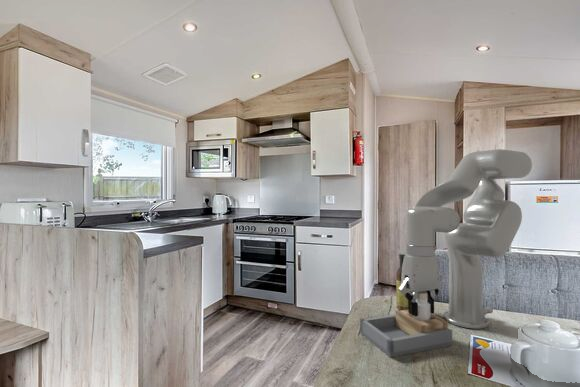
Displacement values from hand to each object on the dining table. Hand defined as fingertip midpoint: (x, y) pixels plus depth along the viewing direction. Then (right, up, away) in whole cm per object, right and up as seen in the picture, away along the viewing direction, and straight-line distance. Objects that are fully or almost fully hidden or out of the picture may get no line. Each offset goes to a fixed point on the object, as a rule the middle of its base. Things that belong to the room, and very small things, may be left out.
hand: (421, 312), depth 88 cm
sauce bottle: (+3, -7, +20) cm, 21 cm away
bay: (-6, -7, -2) cm, 9 cm away
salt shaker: (0, -4, 0) cm, 4 cm away
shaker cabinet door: (0, -6, 0) cm, 5 cm away
